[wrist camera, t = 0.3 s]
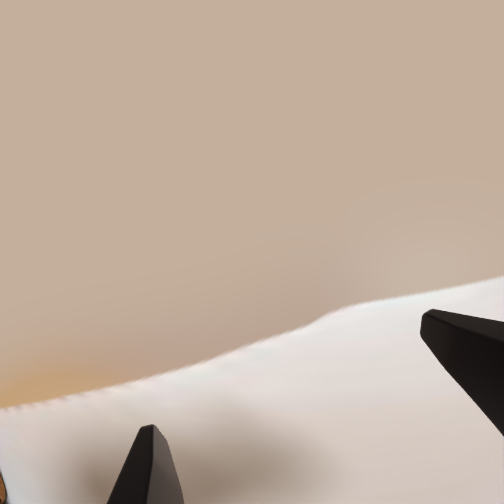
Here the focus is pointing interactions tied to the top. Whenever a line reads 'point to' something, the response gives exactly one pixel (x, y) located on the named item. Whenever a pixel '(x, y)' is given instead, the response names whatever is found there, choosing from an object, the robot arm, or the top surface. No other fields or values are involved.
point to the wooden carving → (2, 491)
